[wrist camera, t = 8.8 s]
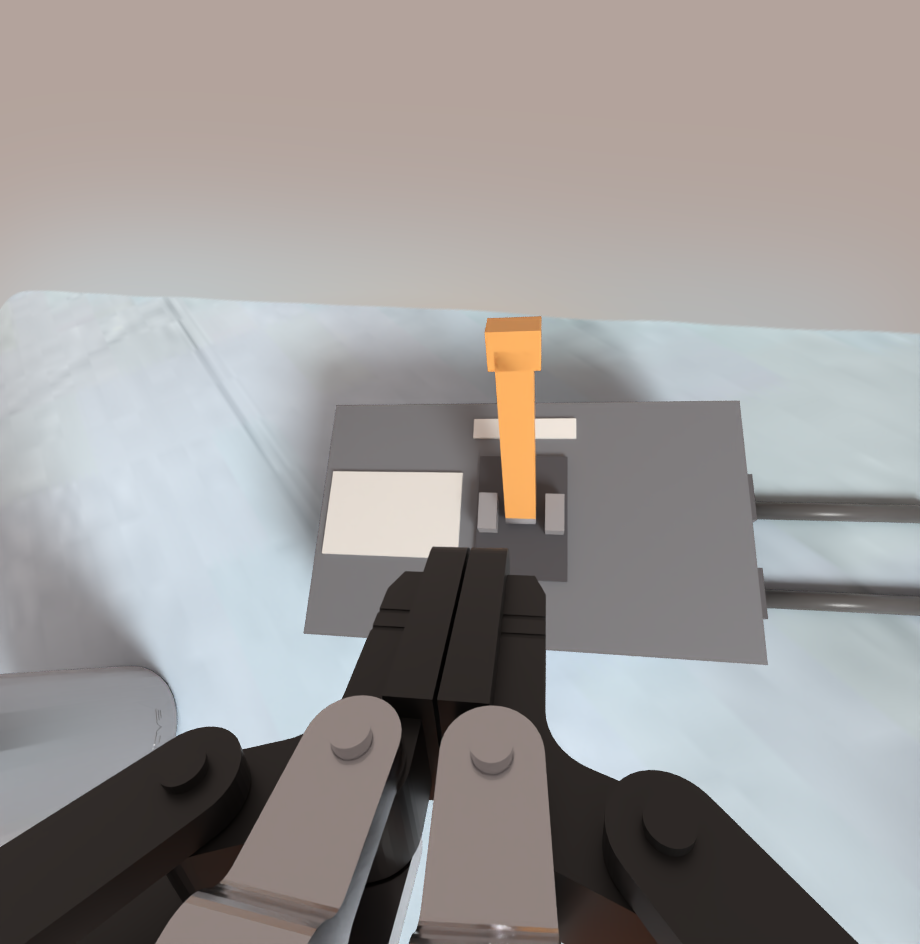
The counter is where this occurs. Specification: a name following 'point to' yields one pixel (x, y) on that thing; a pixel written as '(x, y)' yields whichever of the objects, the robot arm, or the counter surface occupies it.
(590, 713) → the counter surface
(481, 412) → the box
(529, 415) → the breaker lever
